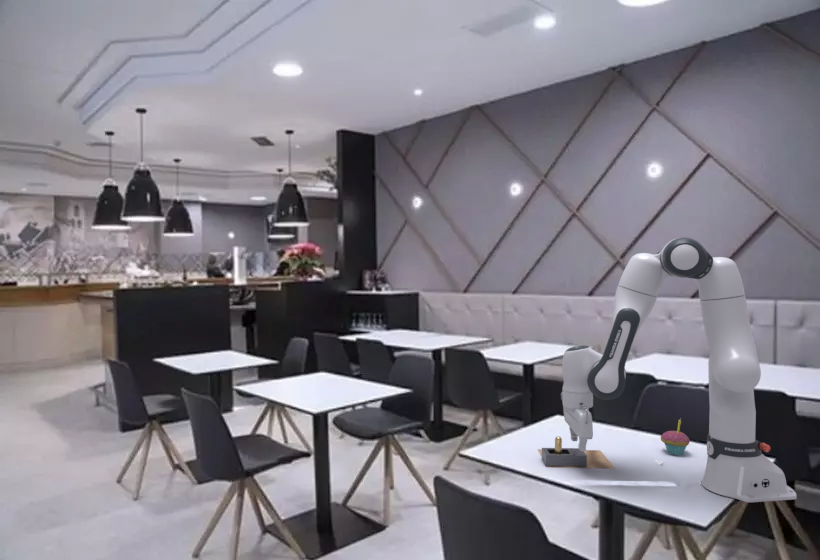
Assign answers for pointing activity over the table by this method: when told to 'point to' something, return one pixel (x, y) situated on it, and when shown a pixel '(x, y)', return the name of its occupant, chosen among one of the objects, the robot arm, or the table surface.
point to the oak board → (592, 460)
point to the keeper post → (558, 445)
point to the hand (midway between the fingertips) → (578, 445)
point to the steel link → (564, 457)
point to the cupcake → (675, 441)
